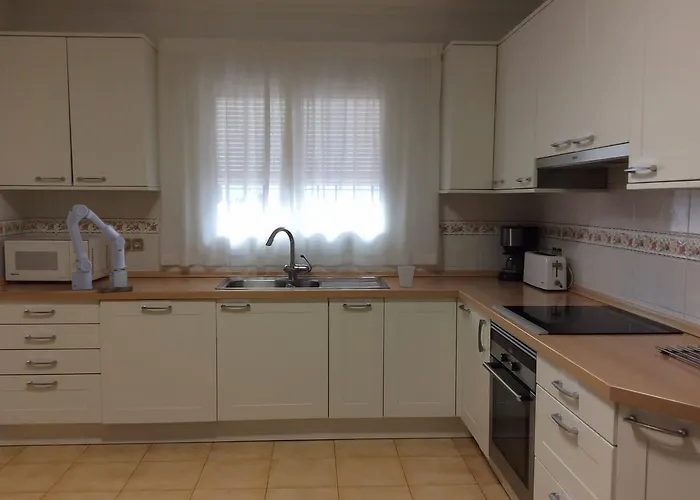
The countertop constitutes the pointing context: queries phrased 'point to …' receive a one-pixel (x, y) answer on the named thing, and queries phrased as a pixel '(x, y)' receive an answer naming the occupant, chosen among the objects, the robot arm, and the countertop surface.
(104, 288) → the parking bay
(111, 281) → the medicine box
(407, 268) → the cup
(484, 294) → the countertop surface
